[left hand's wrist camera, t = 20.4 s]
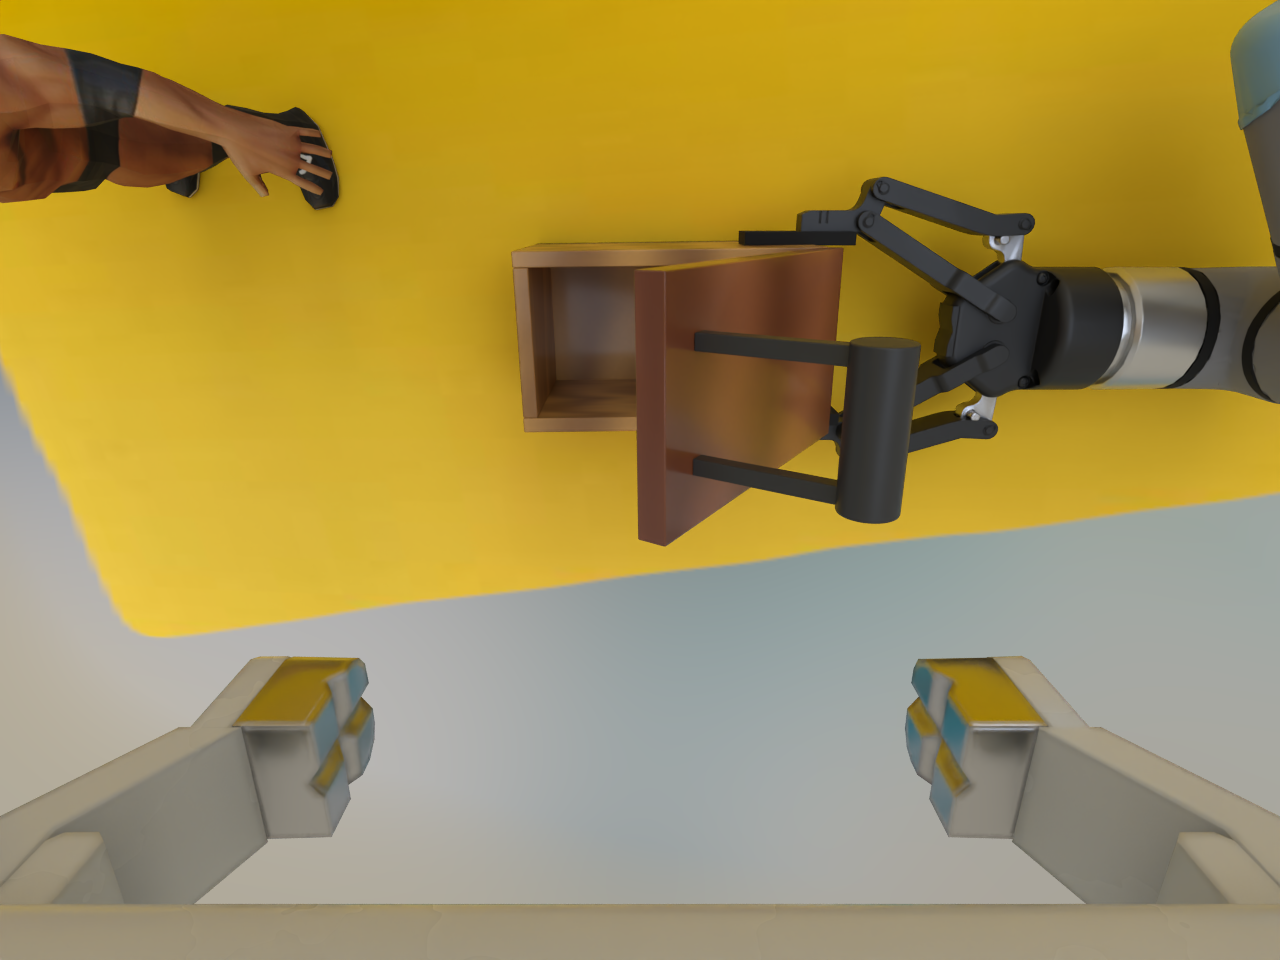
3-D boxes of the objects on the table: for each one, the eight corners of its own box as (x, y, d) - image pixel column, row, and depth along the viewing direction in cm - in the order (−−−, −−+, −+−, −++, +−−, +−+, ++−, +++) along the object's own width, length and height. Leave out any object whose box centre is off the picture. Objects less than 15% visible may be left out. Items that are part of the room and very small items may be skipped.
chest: (546, 389, 53) (523, 432, 42) (538, 243, 49) (511, 251, 39) (780, 386, 53) (815, 428, 42) (788, 240, 49) (829, 246, 39)
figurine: (70, 190, 48) (-737, 154, 20) (52, 84, 46) (-883, -125, 18) (435, 225, 49) (157, 237, 21) (434, 122, 47) (123, -20, 18)
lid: (637, 539, 28) (871, 604, 23) (633, 269, 25) (908, 279, 20) (807, 430, 42) (976, 456, 37) (820, 247, 38) (1009, 249, 34)
